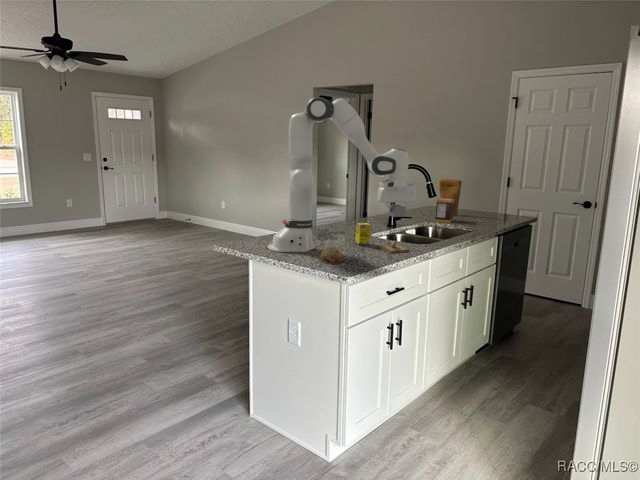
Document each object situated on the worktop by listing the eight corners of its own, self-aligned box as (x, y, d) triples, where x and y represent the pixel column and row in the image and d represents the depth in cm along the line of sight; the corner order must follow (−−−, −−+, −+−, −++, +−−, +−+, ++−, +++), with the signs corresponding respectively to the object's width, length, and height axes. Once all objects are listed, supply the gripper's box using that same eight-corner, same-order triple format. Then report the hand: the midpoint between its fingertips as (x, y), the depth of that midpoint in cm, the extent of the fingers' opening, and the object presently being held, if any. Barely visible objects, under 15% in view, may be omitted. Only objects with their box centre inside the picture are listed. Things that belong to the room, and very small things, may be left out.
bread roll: (317, 269, 202) (315, 255, 197) (325, 255, 210) (323, 241, 205) (339, 272, 199) (337, 257, 194) (346, 258, 206) (344, 243, 202)
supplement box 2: (453, 220, 337) (455, 198, 334) (449, 222, 324) (451, 200, 321) (438, 218, 342) (440, 197, 338) (434, 221, 328) (436, 199, 325)
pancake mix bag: (456, 216, 355) (459, 180, 349) (435, 213, 368) (438, 178, 363) (460, 216, 360) (464, 179, 354) (439, 212, 373) (442, 178, 367)
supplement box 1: (359, 245, 236) (360, 224, 234) (355, 243, 242) (356, 222, 240) (369, 245, 238) (371, 224, 236) (365, 243, 244) (366, 222, 241)
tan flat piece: (389, 253, 222) (390, 244, 221) (378, 248, 232) (378, 240, 231) (409, 251, 226) (409, 243, 226) (397, 247, 236) (397, 239, 235)
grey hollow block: (393, 216, 221) (394, 206, 220) (386, 215, 226) (387, 204, 225) (405, 216, 223) (405, 206, 222) (398, 214, 229) (398, 204, 228)
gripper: (412, 182, 228) (410, 210, 231) (376, 182, 221) (374, 211, 223) (419, 183, 223) (417, 211, 225) (383, 183, 215) (381, 213, 218)
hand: (396, 211), depth 224 cm, fingers closed on grey hollow block, 6 cm apart
